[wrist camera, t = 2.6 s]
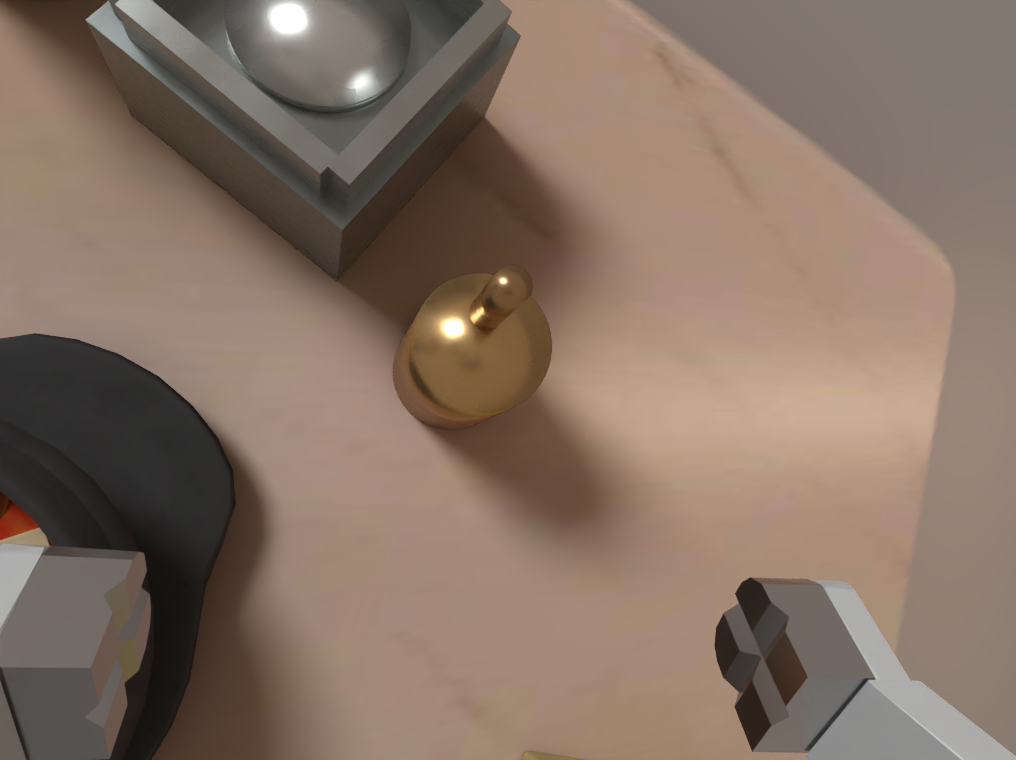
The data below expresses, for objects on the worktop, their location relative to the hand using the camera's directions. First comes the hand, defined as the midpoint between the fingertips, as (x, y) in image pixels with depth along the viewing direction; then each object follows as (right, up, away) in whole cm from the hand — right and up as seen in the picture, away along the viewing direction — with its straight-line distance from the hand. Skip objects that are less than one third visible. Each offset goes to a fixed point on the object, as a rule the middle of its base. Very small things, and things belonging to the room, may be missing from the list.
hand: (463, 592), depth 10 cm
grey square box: (-9, +16, +26) cm, 32 cm away
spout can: (-2, +3, +26) cm, 26 cm away
